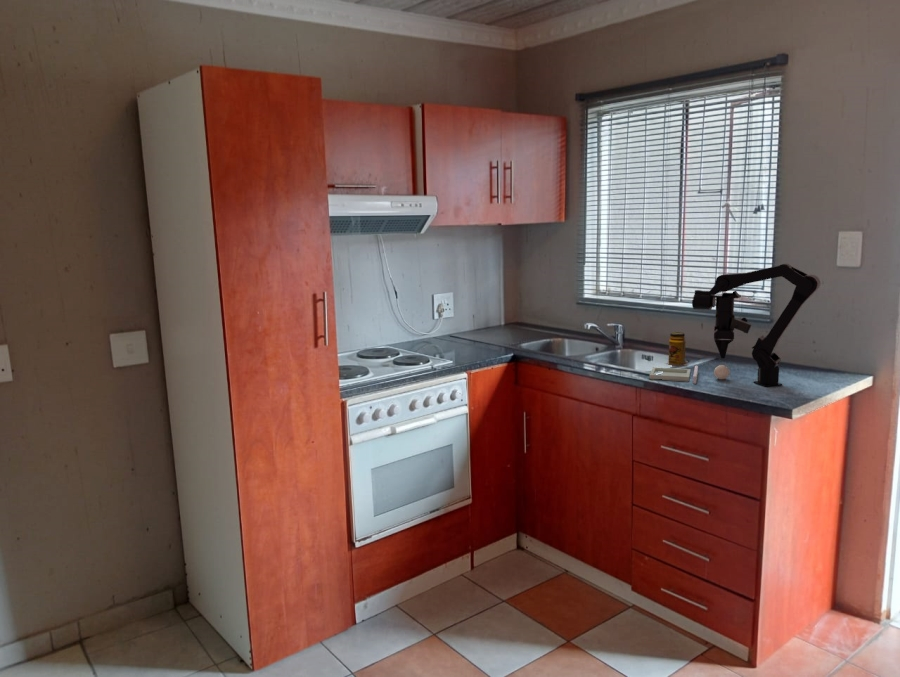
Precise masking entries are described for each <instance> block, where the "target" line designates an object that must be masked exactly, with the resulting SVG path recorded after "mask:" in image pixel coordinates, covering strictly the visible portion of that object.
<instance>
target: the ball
mask: <svg viewBox="0 0 900 677" xmlns="http://www.w3.org/2000/svg"><path fill="white" fill-rule="evenodd" d="M730 373H731V371H730V369H729V367H727V365H723V364H720V365H718V366H716V367H715V368H714V371H713V374H714V376H715V377H716V378H717V379H719V380H726V379H727V378H728V377H729V376H730Z"/></svg>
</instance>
